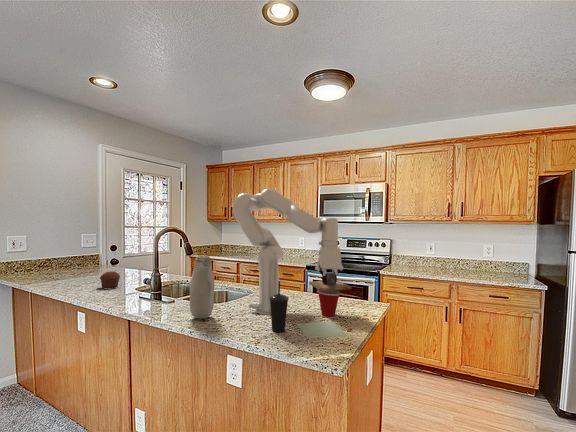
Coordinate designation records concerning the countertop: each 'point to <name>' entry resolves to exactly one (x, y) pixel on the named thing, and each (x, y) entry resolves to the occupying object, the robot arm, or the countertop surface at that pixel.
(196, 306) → the gray bottle
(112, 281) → the muffin
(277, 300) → the drinking cup
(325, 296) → the plastic cup
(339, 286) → the lid
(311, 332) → the mat
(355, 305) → the countertop surface
